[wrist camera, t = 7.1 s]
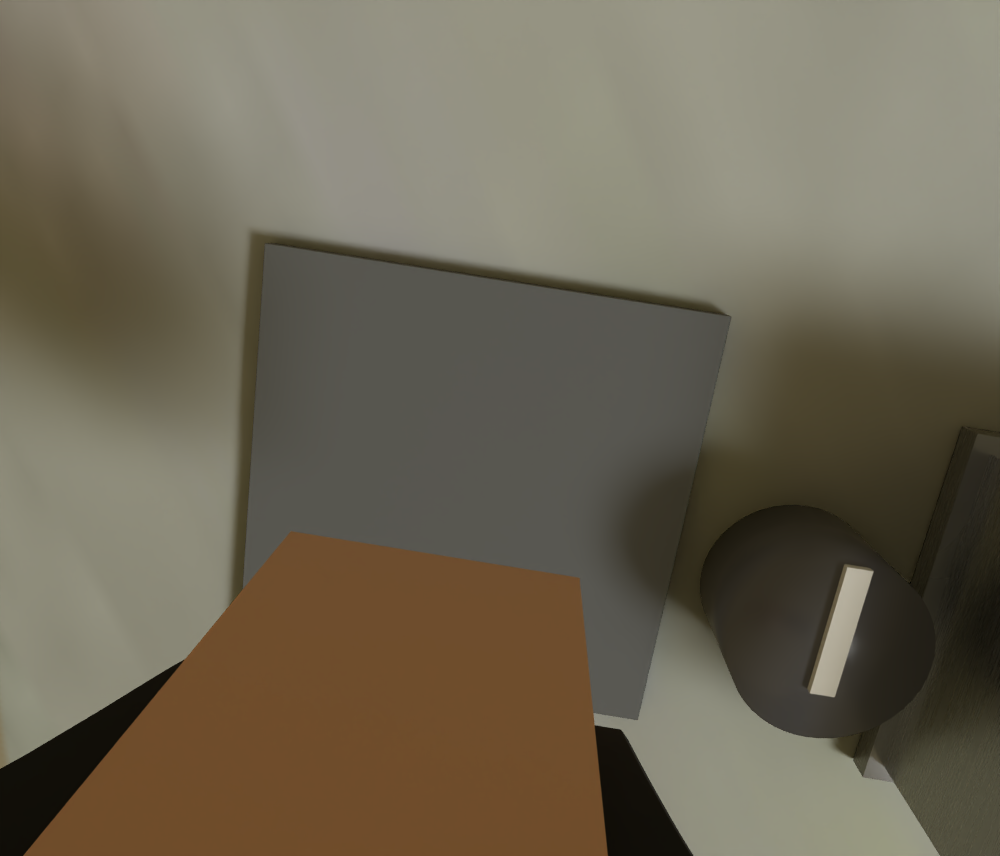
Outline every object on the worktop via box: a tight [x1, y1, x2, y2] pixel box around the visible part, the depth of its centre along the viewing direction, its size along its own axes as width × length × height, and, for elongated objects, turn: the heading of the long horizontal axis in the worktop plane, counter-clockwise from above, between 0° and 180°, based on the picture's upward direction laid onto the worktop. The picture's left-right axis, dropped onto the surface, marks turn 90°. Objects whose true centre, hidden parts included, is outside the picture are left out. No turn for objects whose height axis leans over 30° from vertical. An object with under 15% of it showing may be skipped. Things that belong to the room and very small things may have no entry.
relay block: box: [23, 531, 608, 856], centre depth 8 cm, size 4×4×6 cm
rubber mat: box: [243, 243, 731, 720], centre depth 17 cm, size 10×10×1 cm
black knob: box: [700, 505, 936, 738], centre depth 16 cm, size 4×4×3 cm
